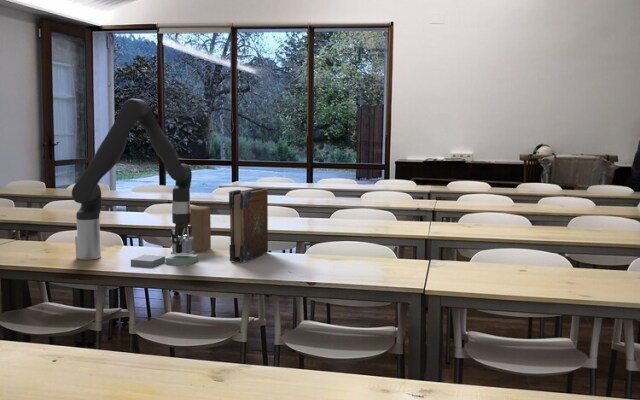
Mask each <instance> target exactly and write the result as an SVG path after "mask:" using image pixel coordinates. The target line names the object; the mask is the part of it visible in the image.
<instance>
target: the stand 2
mask: <svg viewBox="0 0 640 400" xmlns="http://www.w3.org/2000/svg"><path fill="white" fill-rule="evenodd" d="M199 256H200V255H199V254H194V253H193V254H190V255H175V254H171V255H170V256H167V257H165V265H174V266H185V267H187V266H190V265H193V264H195V263H197V262H199V261H200V258H199Z"/></svg>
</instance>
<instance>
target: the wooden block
mask: <svg viewBox="0 0 640 400" xmlns="http://www.w3.org/2000/svg"><path fill="white" fill-rule="evenodd" d="M190 206H191V222H190V223H188V225H191V226H192V233H191V237H194V239H193V240H192V251H194V253H204V252H206V251H208V250H210V249H211V247H212V246H211V245H212V244H211V243H212V241H211V240H212V239H211V238H212V236H211V235H212V234H211V233H212V232H211V230H212V229H211V224H212V223H211V222H212V221H211V207H210V206H203V205H202V206H201V205H190ZM188 231H189V230H188Z"/></svg>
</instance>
